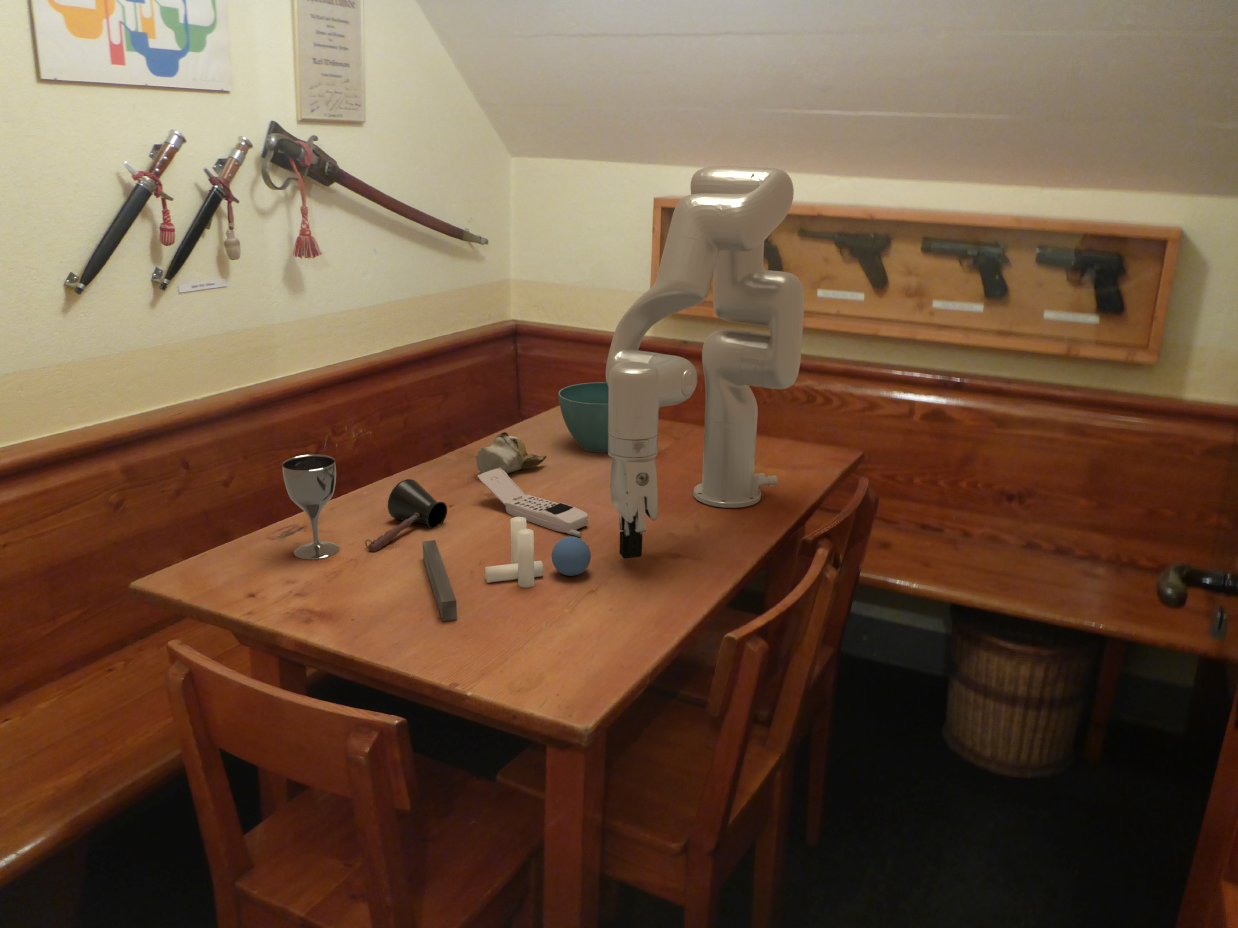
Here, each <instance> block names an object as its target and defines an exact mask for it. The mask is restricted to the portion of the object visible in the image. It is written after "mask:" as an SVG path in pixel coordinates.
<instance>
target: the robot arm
mask: <svg viewBox="0 0 1238 928" xmlns="http://www.w3.org/2000/svg"><path fill="white" fill-rule="evenodd" d="M794 190H795V189H794V183H793V180H792V178H791V177H790V175H789V174H788V173H787V172H786V171H784V170H782V169H779V168H777V167H776V168H775V167H755V166H754V167H753V166H751V167H748V166H746V167H745V166H735V165H733V166H730V165H729V166H725V165H724V166H723V165H718V166H717V165H715V166H708V167H703V168H701V169H698V170H697V171H696V172H694V174H693V175H692V177H691V180H690V194H689V195H686V196H684V197H682V198H680V200H678V202H677V203H676V205H675V207H674V209H673V210H674V211H673V214H672V216H671V221H670V225H669V228H668V232H667V236H666V239H665V244H664V248H663V252H662V255H661V259H660V261H659V262H660V263H659V267H658V269H657V270H658V271H657V275H656V279H655V281H654V283H653V284H652V286H651V287H650V288H649V289H648V290H646V292H644V293H643V294H641V296H640V297H638V298H637V300H635V302H634V303H632V305H631V306H630V307H629V309H627V311H626V312H625V313H624V314H623V316H622V317H621V318H620V320H619V321H618V324H617V325H616V327H615V330H614V333H613V336H612V340H611V344H610V347H609V351H608V355H607V361H606V366H605V381H606V382H607V385H608V387H609V401H608V452H607V455H608V456H609V457H611V463H610V464H611V465H610V482H609V483H610V485H609V488H610V489H609V490H610V492H609V493H610V501H611V504H612V506H613V508H614V509H615V510H616V511H617V512H618V518H619V530H620V532H619V555H620V556H621V557H622V559H633V558H634V559H635V558H642V555H643V534H644V533H645V532H646V531H647V520H646V519H647V518H646V515H647V517H648V518H649V519H650V520H652V521H655V522H656V520H657V519H658V517H659V516H658V515H659V510H658V509H659V503H658V502H659V500H658V474H657V464H656V457H657V456H658V447H659V446H658V442H659V441H658V439H659V409H660V408H663V407H668V406H669V407H671V406H675V405H676V406H677V405H680V404H682V403H684V402H686V401H687V400H688V399H690V397H691V396H692V395H693V394H694V392H695V390H696V388H697V385H698V372H697V370H696V367H695V366H694V364H693V363H692V362H691V361H690V360H688V359H686V358H685V357H682V356H678V355H673V354H672V355H671V354H666V353H665V354H664V353H660V352H651V351H645V350H639V349H640V345H641V343H642V341H643V338H644V336H645V335H646V334H647V332H648V331H649V330H650V329H651V328H652V327H653V326H654V325H656V324H657V323H658V322H660V321H661V320H663V319H665V318H667V317H669V316H672V315H674V314H677V313H679V312H682V311H684V310H688V309H689V308H693V307H697V306H698V305H700V304H702V303H704V302H705V300H706V299H707V298H708V296H709V293H710V288H711V283H712V281H713V286H712V303H713V310H714V313H715V315H716V316H717V317H718V318H720V319H721V320H723V321H726V322H729V323H735V324H745V325H753V326H762V327H767V328H769V332H760V331H754V330H745V329H737V328H722V329H718V330H715V331H713V332H712V333H710V334H709V335H708V336H707V337H706V339H705V340H704V342H703V346H702V350H701V360H702V361H701V362H702V367H703V368H702V369H703V374H704V375H703V376H704V386H705V406H704V407H705V412H704V429H703V430H704V432H703V433H704V434H703V455H702V456H703V457H702V481H701V482H700V483H698V484H697V485H695V486H694V488H693V497H694V498H695V499H696V501H699V502H701V503H703V504H704V505H707V506H711V507H716V508H718V507H719V508H724V509H725V508H727V509H737V508H739V509H740V508H746V507H750V506H753V505H756V504H757V503H759V502H760V501H761V498H762V491H761V490H760V489H763V487H764V486H765V487H766V486H767V487H772V486H777V485H778V480H779V479H778V477H777V475H776V474H774V475H766V474H765V473H764V472H760V473H759V472H758V473H756V472H755V461H756V460H755V459H756V448H757V447H756V446H757V445H756V444H757V428H758V427H757V426H758V414H759V413H758V412H759V411H758V410H759V409H758V403H757V400H756V397H755V395H754V392H753V391H752V389H751V387H750V386H752V387H757V388H765V389H772V390H786V389H788V388H790V387H792V386H793V385H794V384H795V382H796V381H797V379H798V376H799V371H800V367H801V359H802V358H801V357H802V347H803V345H802V344H803V333H804V332H803V331H804V329H803V328H804V317H805V316H804V314H805V292H804V287H803V285H802V284H803V283H802V282H801V281H800V278H798V276H796V275H795V274H793V273H791V272H788V271H787V272H786V271H781V270H769V269H768V270H767V269H766V268H765V266H764V256H765V255H764V253H765V240H766V239H767V238H769V236H770V235H771V234H772V232H774V231H775V230H776V228H777V227H779V226H780V224H781V223H782V222H783V221H784V220H785V218H786V217H787V216H788V214H789V211H790V210H791V207H792V205H793V202H794V201H793V200H794V195H795V194H794V193H795V191H794Z"/></svg>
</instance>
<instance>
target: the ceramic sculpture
mask: <svg viewBox="0 0 1238 928" xmlns="http://www.w3.org/2000/svg"><path fill="white" fill-rule="evenodd" d="M475 458H476V466H477V470H478V471H479V473H480V474H482V473H485V472H487V471H490V470H494V469H498V468H501V469H502V470H503V471H505V472H506V473H507V474H510V473H513V472H516V471H518V470H521V469H533V468H535V467H537V466H538V465H540V464H542V463H543V462H544V461H545V460H546V459H547V455H540V456H539V455H537V454H533V453H528V452H527V447H526V445H525V443H524V441H522V439H520V438H519V437H516V436H513V435H509V434H508V433H507V431H506V432H500V433H499V434H498V435H496V436H495V437H494V439H493V441H492V442H491V443H490V445H489V446H484V445H483V446H482V447H480V448H479V449H478V451H477V455H476V456H475Z"/></svg>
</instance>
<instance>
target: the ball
mask: <svg viewBox="0 0 1238 928" xmlns="http://www.w3.org/2000/svg"><path fill="white" fill-rule="evenodd" d="M591 556H592V555H591V550H590V548H589V545H588V544H587V542H586V541H584V540H583V539H582V538H580V537H578V536H573V535H570V536H566V537H563V538H561V539H559V540H558V541H557V542H556V543H555V544H554V546H553V548H552V551H551V561H552V565H553V566H554V568H555V569H556V570H557V571H558V572H559V573H561V574H562V575H564V576H568V577H574V576H578V575H581V574H582V573H583V572H585V570H586V569H587V568H588V567H589V565H590V562H591V559H592V557H591Z"/></svg>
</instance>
